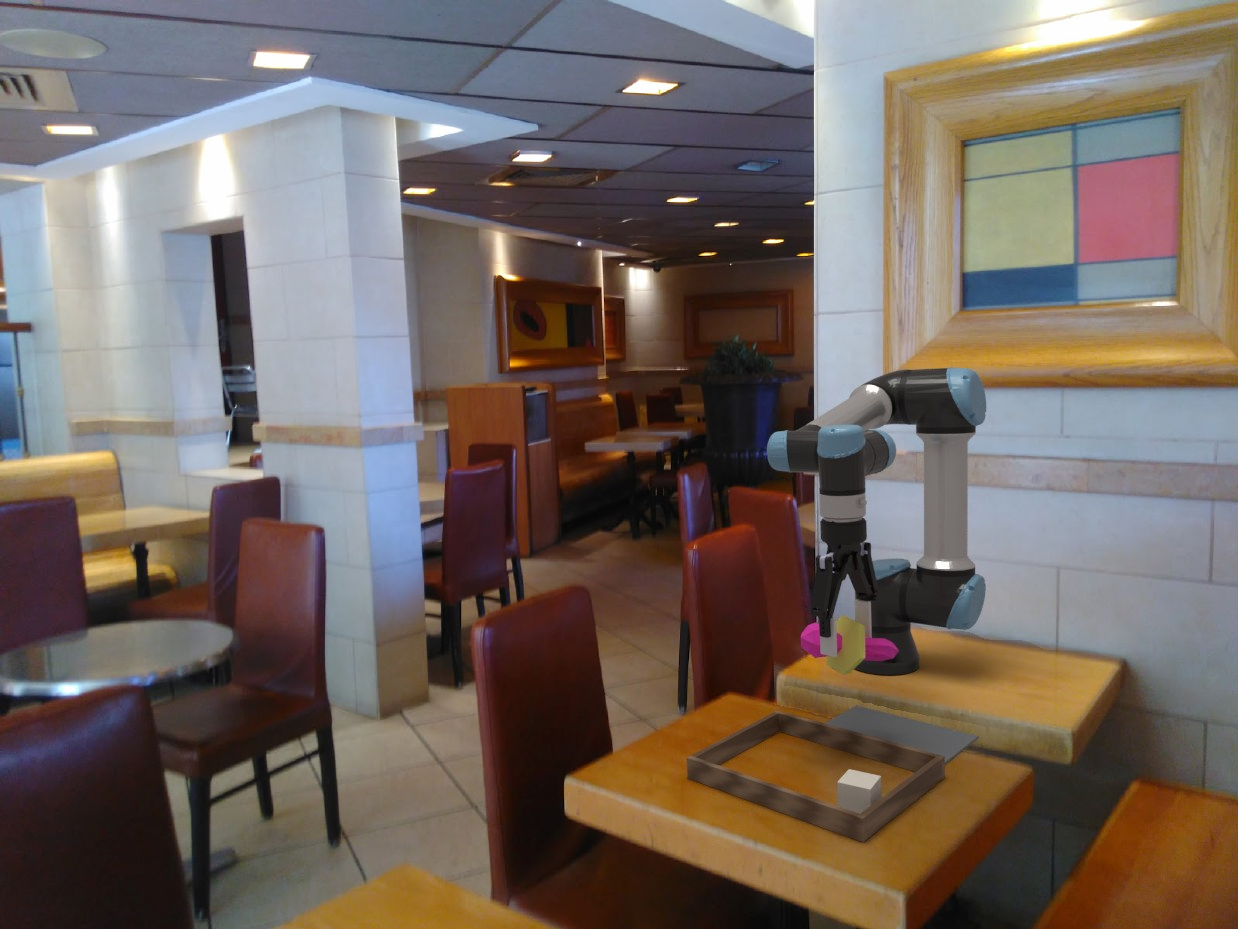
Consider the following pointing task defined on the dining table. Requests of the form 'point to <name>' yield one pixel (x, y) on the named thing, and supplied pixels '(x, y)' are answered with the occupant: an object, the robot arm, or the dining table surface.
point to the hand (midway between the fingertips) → (846, 645)
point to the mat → (904, 731)
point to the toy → (848, 645)
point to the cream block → (858, 790)
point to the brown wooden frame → (807, 808)
